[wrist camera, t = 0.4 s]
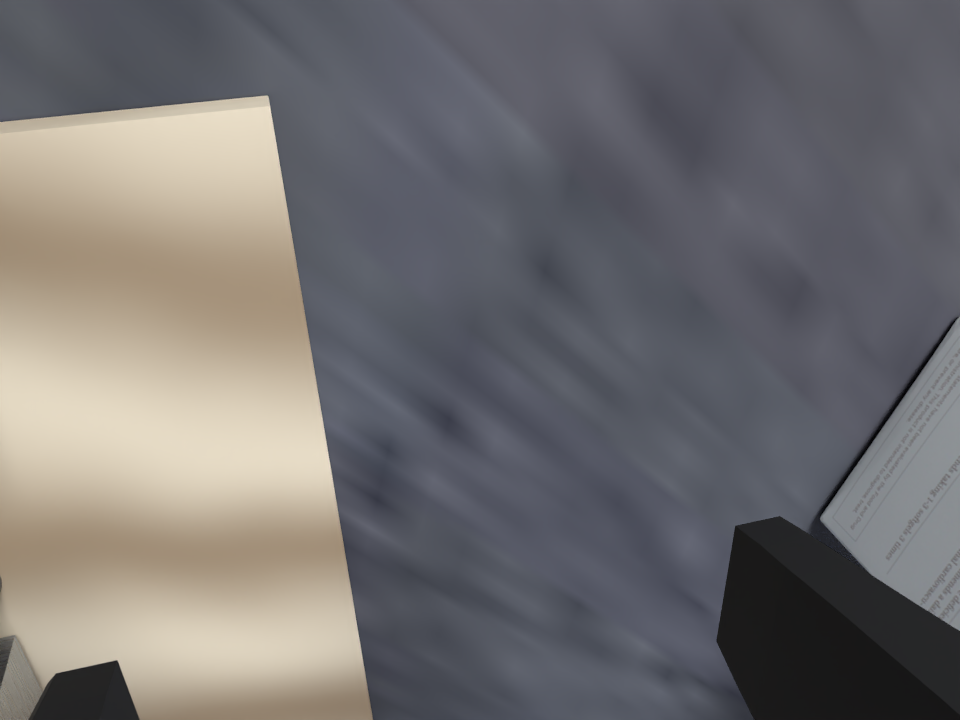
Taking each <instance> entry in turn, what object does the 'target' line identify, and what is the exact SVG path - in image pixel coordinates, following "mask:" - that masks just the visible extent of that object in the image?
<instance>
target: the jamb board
mask: <svg viewBox="0 0 960 720" xmlns="http://www.w3.org/2000/svg"><path fill="white" fill-rule="evenodd" d="M13 635H15V636H16V638H17V640H18V642H19V644H20V646H21V648H22V650H23V652H24V655H25V657H26V659H27V661H28V663H29V665H30V667H31V669H32V671H33V673H34V675H35V677H36V680H37V682H38V684H39V686H40V688H41V690H42V692H43V691H44V689H45V687H46V685H47V683H48V682H49V681H50V680H51V679H52V677H53V676H54V675H55V674H56V673H60V672H65V671H69V670H74V669H79V668H83V667H88V666H92V665H97V664H102V663H106V662H111V661H115V660H118V663H119V665H120V668H121V671H122V674H123V676H124V679H125V682H126V684H127V687H128V690H129V692H130V695H131V698H132V700H133V703H134V706H135V708H136V711H137V714H138V716H139V719H140V720H373V718H372V712H371V706H370V700H369V694H368V688H367V682H366V676H365V670H364V664H363V658H362V652H361V646H360V640H359V634H358V628H357V622H356V616H355V610H354V604H353V598H352V592H351V586H350V580H349V574H348V568H347V562H346V557H345V551H344V545H343V539H342V533H341V527H340V521H339V515H338V509H337V503H336V497H335V491H334V485H333V479H332V473H331V467H330V461H329V455H328V449H327V443H326V437H325V431H324V425H323V419H322V413H321V407H320V401H319V395H318V389H317V384H316V378H315V372H314V366H313V360H312V354H311V348H310V342H309V336H308V330H307V324H306V318H305V312H304V306H303V300H302V294H301V288H300V282H299V276H298V270H297V264H296V258H295V252H294V246H293V240H292V234H291V228H290V222H289V217H288V211H287V205H286V199H285V193H284V187H283V181H282V175H281V169H280V163H279V157H278V151H277V145H276V139H275V133H274V127H273V121H272V115H271V109H270V104H269V98H268V96H258V97H248V98H238V99H228V100H218V101H208V102H198V103H188V104H178V105H168V106H158V107H148V108H138V109H127V110H117V111H107V112H97V113H87V114H77V115H67V116H57V117H47V118H37V119H27V120H17V121H7V122H0V638H3V637H8V636H13Z"/></svg>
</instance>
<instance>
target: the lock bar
mask: <svg viewBox="0 0 960 720" xmlns="http://www.w3.org/2000/svg"><path fill="white" fill-rule="evenodd" d="M42 693H43V692H42V690H41V688H40V686H39V684H38V682H37V680H36V677H35V675H34V673H33V671H32V669H31V667H30V665H29V663H28V661H27V659H26V657H25V655H24V652H23V650H22V648H21V646H20V644H19V642H18V640H17V638H16V636H15V635H13V636H8V637H3V638H0V720H28V719H29V717H30V716H31V714H32V712H33V710H34V708H35V706H36V704H37V702H38V700H39V698H40V697H41V695H42Z"/></svg>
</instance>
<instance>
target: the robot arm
mask: <svg viewBox="0 0 960 720" xmlns="http://www.w3.org/2000/svg"><path fill="white" fill-rule="evenodd" d="M717 643H718V646H719V648H720V650H721V652H722V654H723V656H724V658H725V661H726V663H727V665H728V667H729V669H730V671H731V673H732V675H733V678H734V680H735V682H736V684H737V686H738V688H739V690H740V692H741V694H742V696H743V698H744V700H745V702H746V704H747V706H748V708H749V710H750V712H751V714H752V716H753V718H754V720H960V631H959V630H958V629H956V628H954V627H953V626H951V625H949V624H948V623H946V622H945V621H943V620H941V619H940V618H938V617H937V616H935V615H933V614H932V613H930V612H929V611H927V610H925V609H924V608H922V607H921V606H919V605H918V604H916V603H914V602H913V601H911V600H910V599H908V598H907V597H905V596H903V595H902V594H900V593H899V592H897V591H896V590H894V589H892V588H891V587H889V586H888V585H886V584H885V583H883V582H882V581H880V580H879V579H877V578H876V577H874V576H872V575H871V574H869V573H868V572H866V571H865V570H863V569H862V568H860V567H859V566H857V565H855V564H854V563H852V562H851V561H849V560H848V559H846V558H845V557H843V556H842V555H840V554H839V553H837V552H836V551H834V550H832V549H831V548H829V547H828V546H826V545H825V544H823V543H822V542H820V541H819V540H817V539H815V538H814V537H812V536H811V535H809V534H808V533H806V532H804V531H803V530H801V529H800V528H798V527H797V526H795V525H793V524H792V523H790V522H788V521H787V520H785V519H783V518H782V517H780V516H779V517H774V518H770V519H765V520H760V521H756V522H751V523H747V524H742V525H737V526H735V531H734V537H733V543H732V550H731V556H730V562H729V568H728V574H727V580H726V586H725V592H724V598H723V604H722V610H721V616H720V622H719V629H718V635H717ZM28 720H140V719H139V716H138V714H137V711H136V708H135V706H134V703H133V700H132V698H131V695H130V692H129V690H128V687H127V684H126V682H125V679H124V676H123V674H122V671H121V668H120V665H119V663H118V660H115V661H111V662H106V663H102V664H97V665H92V666H88V667H83V668H79V669H74V670H69V671H65V672H60V673H56V674H55V675H54V676H53V677H52V679H51V680H50V681H49V682H48V683H47V685H46V687H45V689H44V691H43V693H42V695H41V697H40V698H39V700H38V702H37V704H36V706H35V708H34V710H33V712H32V714H31V716H30V717H29V719H28Z"/></svg>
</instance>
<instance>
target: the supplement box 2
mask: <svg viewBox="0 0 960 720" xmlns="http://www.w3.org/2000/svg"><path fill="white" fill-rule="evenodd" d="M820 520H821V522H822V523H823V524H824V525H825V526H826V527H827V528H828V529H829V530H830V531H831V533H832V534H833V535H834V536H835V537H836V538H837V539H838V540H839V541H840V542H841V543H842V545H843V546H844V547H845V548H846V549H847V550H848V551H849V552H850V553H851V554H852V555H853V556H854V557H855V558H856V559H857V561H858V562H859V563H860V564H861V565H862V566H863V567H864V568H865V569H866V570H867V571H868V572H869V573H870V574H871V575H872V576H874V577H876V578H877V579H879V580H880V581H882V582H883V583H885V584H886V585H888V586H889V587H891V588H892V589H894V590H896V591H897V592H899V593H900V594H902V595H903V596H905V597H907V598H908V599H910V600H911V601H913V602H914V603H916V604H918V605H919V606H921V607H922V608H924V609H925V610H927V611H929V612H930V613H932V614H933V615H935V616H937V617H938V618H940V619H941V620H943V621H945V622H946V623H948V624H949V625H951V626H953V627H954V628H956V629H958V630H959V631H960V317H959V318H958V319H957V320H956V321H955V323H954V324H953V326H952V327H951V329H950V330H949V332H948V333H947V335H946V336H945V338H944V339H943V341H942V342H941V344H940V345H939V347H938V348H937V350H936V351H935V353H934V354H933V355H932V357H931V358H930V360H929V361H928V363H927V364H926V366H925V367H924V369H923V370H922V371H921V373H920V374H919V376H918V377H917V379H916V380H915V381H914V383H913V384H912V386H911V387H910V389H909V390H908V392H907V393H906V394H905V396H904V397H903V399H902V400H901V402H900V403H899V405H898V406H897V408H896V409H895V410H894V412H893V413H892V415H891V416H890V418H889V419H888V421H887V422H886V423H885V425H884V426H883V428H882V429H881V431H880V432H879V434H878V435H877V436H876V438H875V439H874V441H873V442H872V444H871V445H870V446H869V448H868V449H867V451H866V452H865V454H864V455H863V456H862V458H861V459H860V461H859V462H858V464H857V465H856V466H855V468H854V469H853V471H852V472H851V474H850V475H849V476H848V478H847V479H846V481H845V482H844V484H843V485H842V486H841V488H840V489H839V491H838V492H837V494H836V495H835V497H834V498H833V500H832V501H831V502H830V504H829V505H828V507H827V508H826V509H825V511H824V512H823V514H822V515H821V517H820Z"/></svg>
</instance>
